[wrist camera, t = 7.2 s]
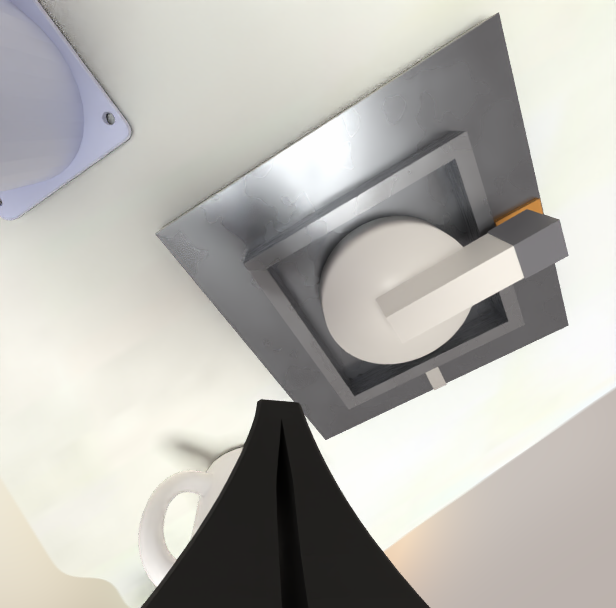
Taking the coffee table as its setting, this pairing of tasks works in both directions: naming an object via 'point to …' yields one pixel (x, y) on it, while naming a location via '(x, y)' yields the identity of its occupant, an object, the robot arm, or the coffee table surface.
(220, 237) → the panel
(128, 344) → the coffee table surface
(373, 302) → the dial
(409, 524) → the coffee table surface
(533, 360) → the coffee table surface
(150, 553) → the mug
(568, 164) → the coffee table surface
